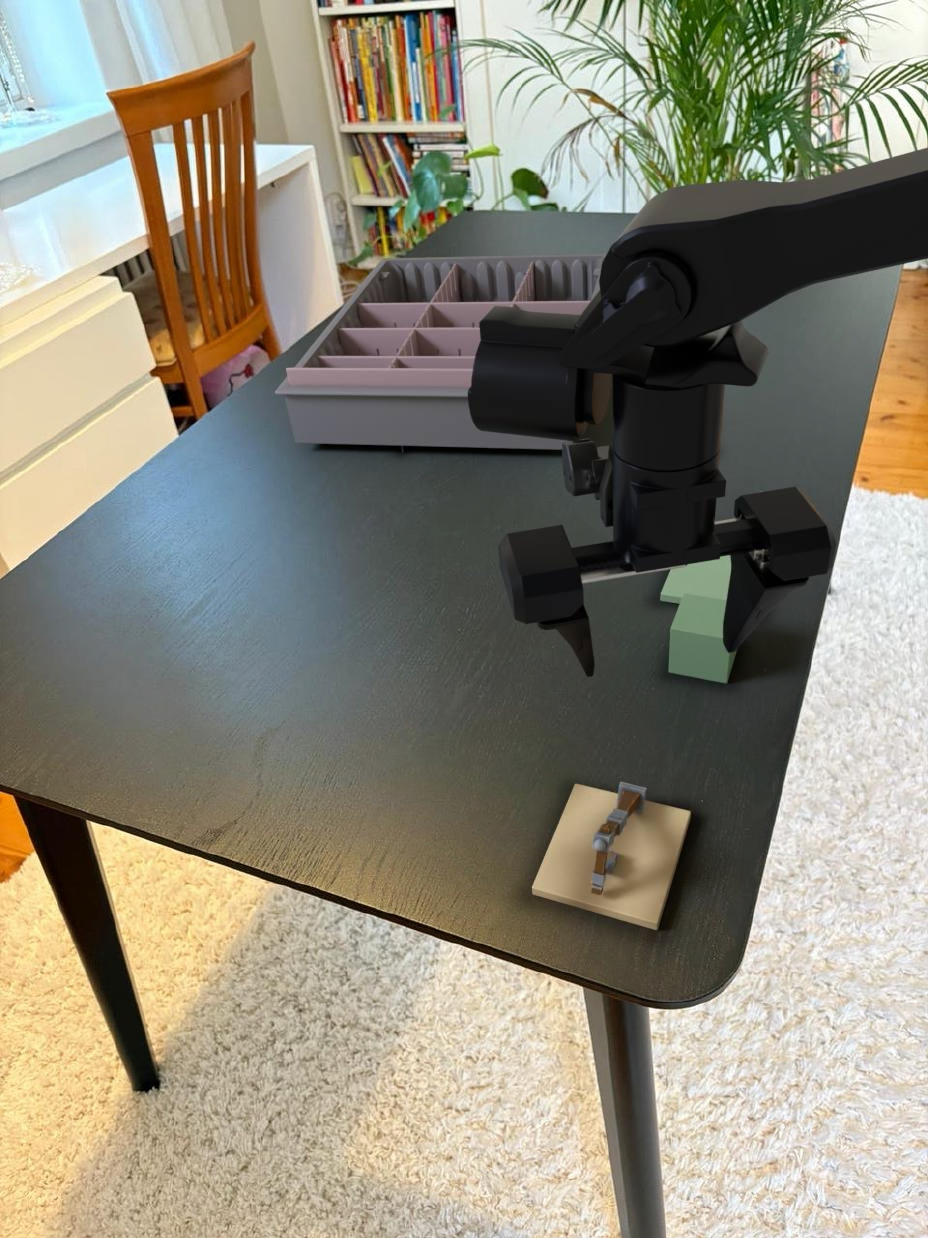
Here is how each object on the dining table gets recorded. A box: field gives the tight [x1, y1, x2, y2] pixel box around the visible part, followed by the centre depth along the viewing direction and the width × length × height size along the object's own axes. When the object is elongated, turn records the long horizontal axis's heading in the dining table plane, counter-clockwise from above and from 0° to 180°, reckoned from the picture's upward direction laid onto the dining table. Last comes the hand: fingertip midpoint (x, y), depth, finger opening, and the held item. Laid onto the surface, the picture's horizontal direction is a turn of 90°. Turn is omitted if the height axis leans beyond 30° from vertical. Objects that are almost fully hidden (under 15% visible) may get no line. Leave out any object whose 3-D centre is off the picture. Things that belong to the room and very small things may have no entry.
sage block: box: [668, 593, 738, 684], centre depth 75 cm, size 4×4×4 cm
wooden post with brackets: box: [591, 781, 647, 895], centre depth 61 cm, size 2×8×4 cm, turn 156°
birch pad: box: [531, 783, 692, 931], centre depth 63 cm, size 8×9×1 cm
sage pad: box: [659, 555, 731, 605], centre depth 84 cm, size 8×8×1 cm
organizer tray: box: [274, 253, 607, 452], centre depth 117 cm, size 32×40×10 cm
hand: (658, 660), depth 62 cm, fingers open, 9 cm apart
